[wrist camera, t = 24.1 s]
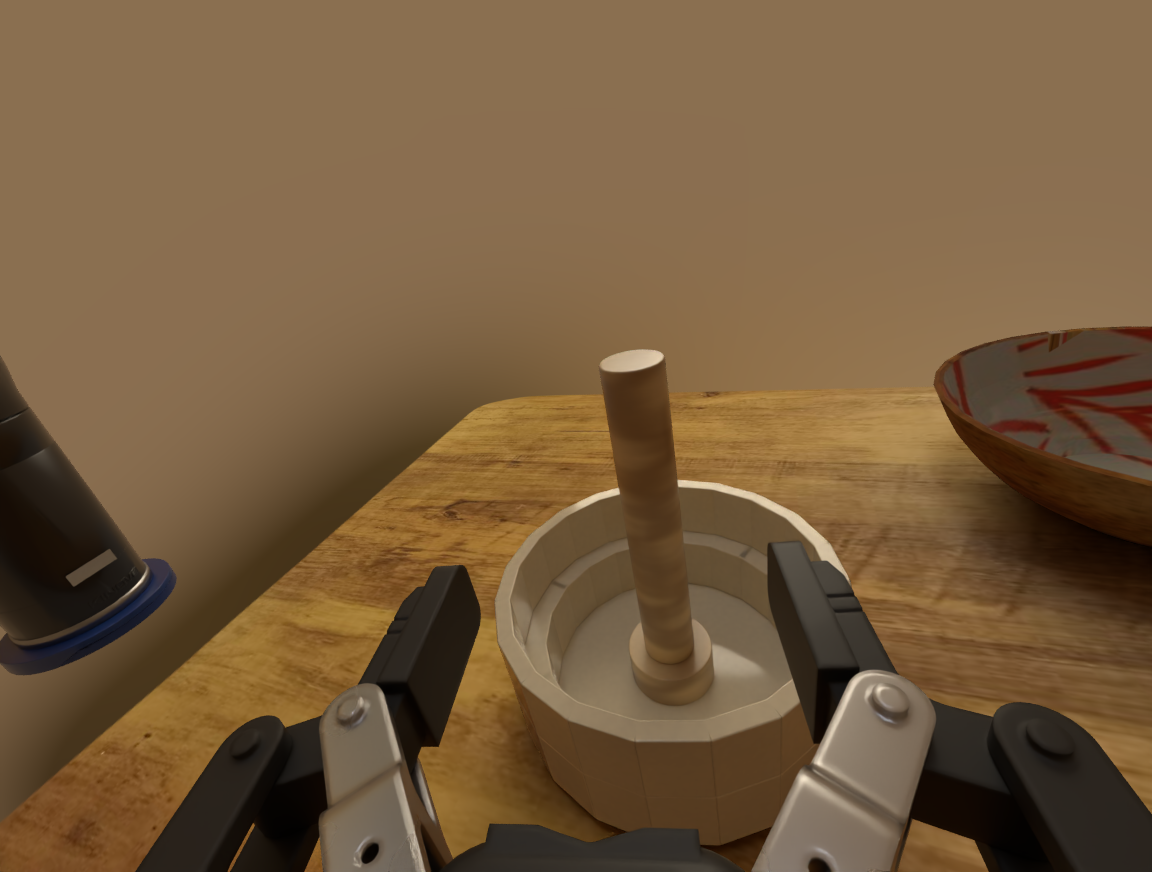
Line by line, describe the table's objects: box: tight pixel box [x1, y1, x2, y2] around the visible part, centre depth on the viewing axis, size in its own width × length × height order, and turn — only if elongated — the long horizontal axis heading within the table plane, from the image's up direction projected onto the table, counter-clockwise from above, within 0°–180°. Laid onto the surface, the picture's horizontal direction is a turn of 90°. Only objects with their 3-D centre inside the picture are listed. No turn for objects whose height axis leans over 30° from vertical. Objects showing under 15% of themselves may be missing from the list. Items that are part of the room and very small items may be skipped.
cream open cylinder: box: [495, 480, 852, 845], centre depth 26 cm, size 17×17×8 cm
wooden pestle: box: [599, 350, 714, 706], centre depth 23 cm, size 4×4×18 cm
